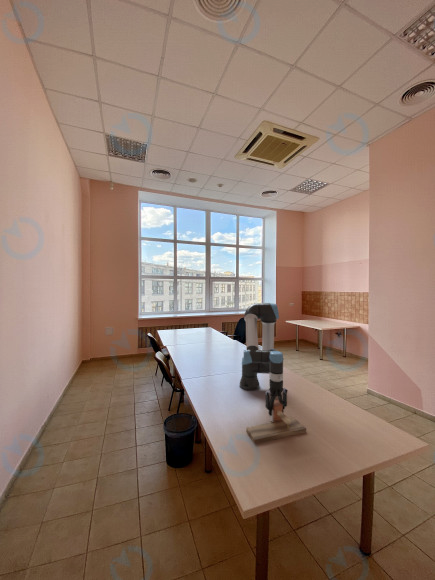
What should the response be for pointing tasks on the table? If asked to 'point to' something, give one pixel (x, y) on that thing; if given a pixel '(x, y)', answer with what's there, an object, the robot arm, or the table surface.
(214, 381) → the table surface
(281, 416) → the mallet
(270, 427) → the board
